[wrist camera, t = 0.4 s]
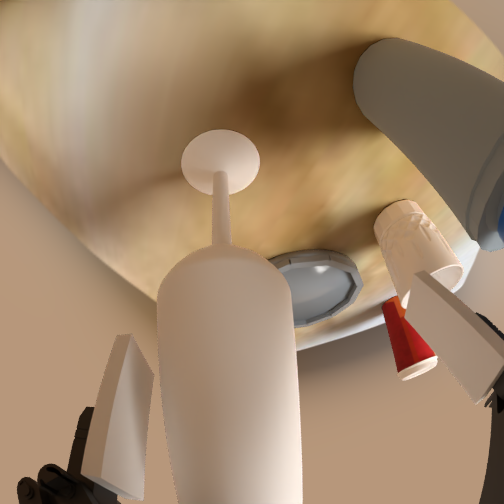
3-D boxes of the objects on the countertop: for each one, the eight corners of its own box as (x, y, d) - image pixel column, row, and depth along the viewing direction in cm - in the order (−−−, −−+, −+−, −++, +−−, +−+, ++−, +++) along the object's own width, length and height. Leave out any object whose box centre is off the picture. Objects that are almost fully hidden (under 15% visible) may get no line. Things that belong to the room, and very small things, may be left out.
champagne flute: (219, 112, 18) (247, 567, 3) (276, 164, 22) (355, 502, 7) (165, 168, 21) (131, 515, 6) (221, 207, 25) (241, 502, 10)
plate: (230, 256, 31) (231, 268, 30) (374, 244, 32) (379, 254, 31) (238, 324, 45) (239, 333, 44) (340, 312, 46) (343, 320, 44)
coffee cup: (382, 316, 51) (402, 382, 41) (371, 305, 45) (394, 381, 36) (416, 298, 47) (440, 365, 37) (411, 284, 42) (440, 360, 32)
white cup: (394, 248, 33) (423, 311, 27) (356, 233, 30) (386, 307, 24) (432, 208, 28) (472, 271, 21) (398, 185, 25) (446, 258, 18)
